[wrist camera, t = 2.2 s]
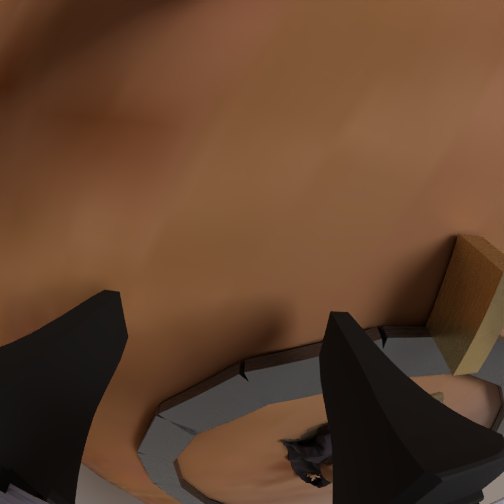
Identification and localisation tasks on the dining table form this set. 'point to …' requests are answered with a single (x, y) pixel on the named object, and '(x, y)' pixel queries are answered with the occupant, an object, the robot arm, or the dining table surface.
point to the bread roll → (317, 453)
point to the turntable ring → (308, 371)
